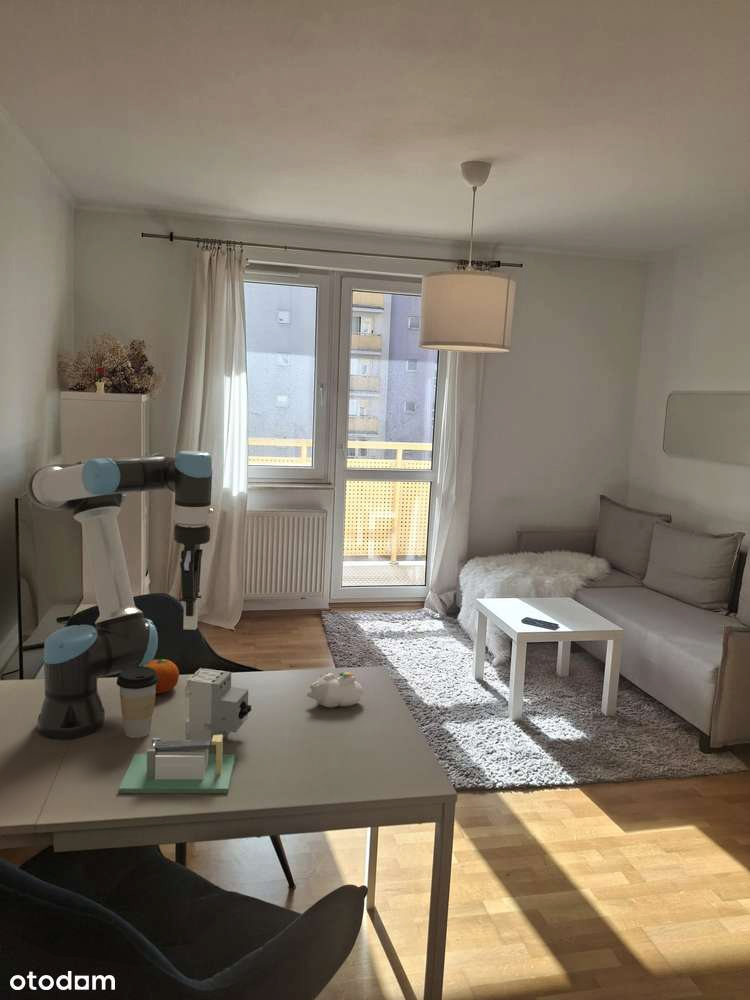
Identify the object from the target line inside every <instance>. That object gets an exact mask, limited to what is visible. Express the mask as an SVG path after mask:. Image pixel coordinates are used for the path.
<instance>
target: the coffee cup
mask: <svg viewBox="0 0 750 1000" xmlns="http://www.w3.org/2000/svg"><path fill="white" fill-rule="evenodd" d="M158 680H159V679H158V675H157V674H156V673H155V670H154V669H152V668H150V667H144V666H138V667H131V668H127V669H125V670H123V671H122V672H120V673H119V675H118V676H117V679H116V685H117V686H118V687H119V699H120V708H121V715H122V719H123V720H122V721H123V728H124V735H125V736H126V738H127V737H128V738H131V739H139V738H144V737H146V736H149V735H150V733H151V730H152V722H153V715H154V712H155V711H154V709H155V700H156V694H157V693H156V690H155V687H156V683H157V682H158Z"/></svg>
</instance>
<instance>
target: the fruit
mask: <svg viewBox="0 0 750 1000" xmlns="http://www.w3.org/2000/svg"><path fill="white" fill-rule="evenodd" d="M144 667H150V668H152V669H154V670H155V673H156V674H157V675H158V679H159V680H158V682H157V683H156V687H155V690H156V693H155V694H164V693H167V692H169V691H171V690H173V689H174V688H175V687H176V686H177V684H178V682H179V678H180V670H179V668H178V666H177V665H176V664H175V663H174V662H173V661H171V660H169V659H166V658H165V659H164V658H161V659H160V658H159V659H153V660H152V661H151V662H150V663H149V664H147V665H144Z"/></svg>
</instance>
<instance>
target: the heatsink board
mask: <svg viewBox="0 0 750 1000" xmlns="http://www.w3.org/2000/svg"><path fill="white" fill-rule="evenodd" d="M154 740H156V741H161V737H152V738H151V743H152V742H153V741H154ZM223 744H224V738H223V735H213V738H212V744H211V746H215V747H216V748H215V749H216V750H215V751H216V752H215V753H212V754H211V753H210V754H209V749H190V750H172V751H155V750H156V749H150V748H149V749H148V748H147V750H146V753H135V754H134V755H133V757H132V759H131V762H130V764H129V766H128V768H127V770H126V771H125V772H126V773H125V774H124V776H123V779H122V781H121V783H120V785H119V787H118V794H229V790H230V785H231V780H232V775H233V771H234V765H235V761H236V754H233V753H231V754H227V753H226V754H224V753H223V751H224V750H223V748H224V745H223Z"/></svg>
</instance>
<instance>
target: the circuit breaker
mask: <svg viewBox="0 0 750 1000" xmlns="http://www.w3.org/2000/svg"><path fill="white" fill-rule="evenodd" d="M184 697H185V698H188V718H187V720H185V722H184V734H185V738H184V740H194V739H212V738H213V735H223V739H224V738H225V737H226V736H227V735H228V734H229V733H237V732H238V731H239V729H240V728H241V727H242V726H243V724H244V723H245V722H246V721H247V720H248V718H249V713H250V712H251V711H252V705H250V704H249V689H248V688H242V687H234V686H232V672H231V671H225V670H216V669H211V668H202V667H200V668H199V669H198V670H196V671H195V672H194V674H192V675H190V677H189V678H187V679H186V686H185V696H184ZM211 745H212V743H211Z"/></svg>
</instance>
